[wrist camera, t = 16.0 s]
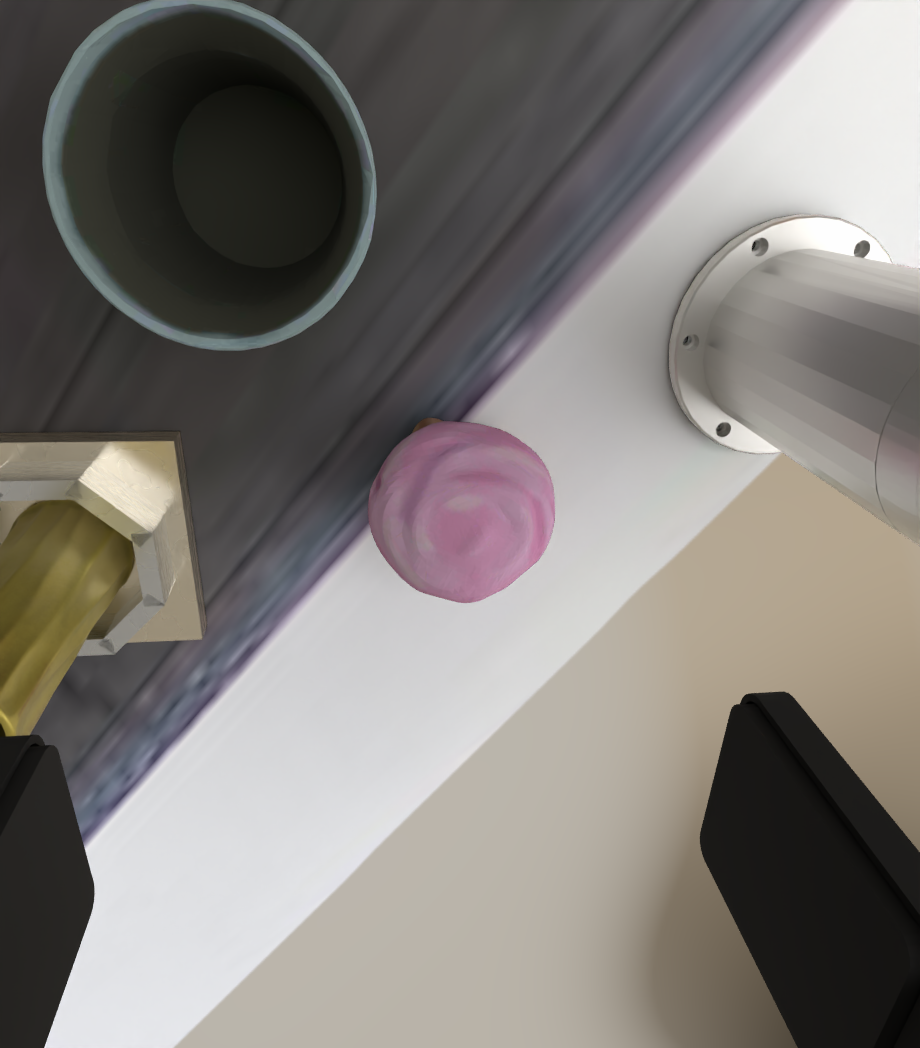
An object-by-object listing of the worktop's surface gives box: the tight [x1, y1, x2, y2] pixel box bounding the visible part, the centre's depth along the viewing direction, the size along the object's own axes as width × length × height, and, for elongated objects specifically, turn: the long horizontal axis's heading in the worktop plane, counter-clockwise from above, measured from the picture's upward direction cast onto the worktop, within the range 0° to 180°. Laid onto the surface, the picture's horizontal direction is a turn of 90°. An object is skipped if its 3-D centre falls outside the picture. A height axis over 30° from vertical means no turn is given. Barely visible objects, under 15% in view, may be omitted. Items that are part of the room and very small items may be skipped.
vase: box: [0, 500, 133, 737], centre depth 32 cm, size 6×6×14 cm
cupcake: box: [368, 418, 555, 603], centre depth 37 cm, size 9×9×10 cm
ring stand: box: [0, 431, 207, 656], centre depth 38 cm, size 12×12×4 cm
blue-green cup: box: [43, 0, 377, 351], centre depth 28 cm, size 10×10×12 cm
